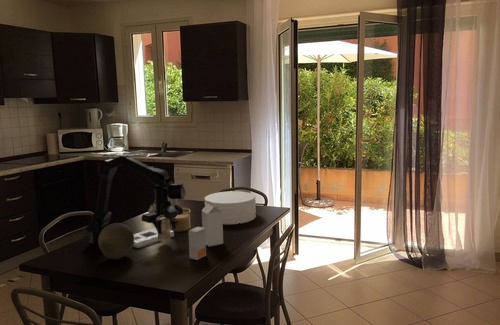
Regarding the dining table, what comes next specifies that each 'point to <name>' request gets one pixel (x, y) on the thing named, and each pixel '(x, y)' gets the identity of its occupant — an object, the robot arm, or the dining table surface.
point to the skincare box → (197, 243)
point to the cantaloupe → (116, 240)
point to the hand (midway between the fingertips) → (163, 232)
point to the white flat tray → (147, 237)
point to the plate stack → (234, 206)
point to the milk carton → (212, 224)
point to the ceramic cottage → (152, 208)
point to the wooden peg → (164, 230)
